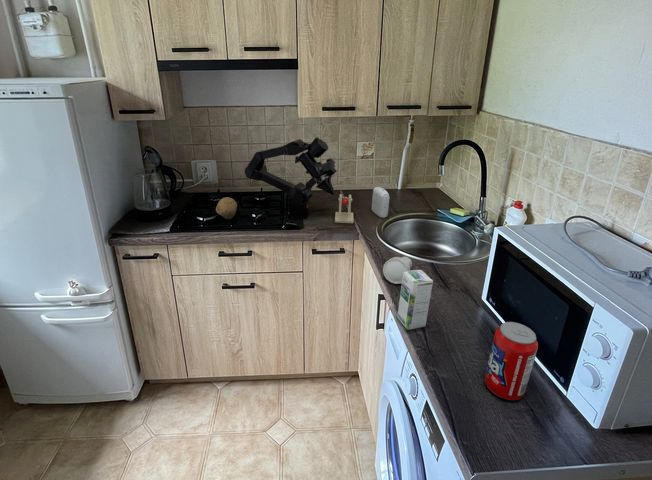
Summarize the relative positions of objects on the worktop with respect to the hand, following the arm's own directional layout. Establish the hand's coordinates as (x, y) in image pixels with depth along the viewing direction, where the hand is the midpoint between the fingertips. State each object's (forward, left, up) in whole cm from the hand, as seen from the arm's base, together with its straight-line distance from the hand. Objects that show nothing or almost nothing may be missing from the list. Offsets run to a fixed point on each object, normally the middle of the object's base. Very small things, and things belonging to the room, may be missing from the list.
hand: (333, 194), depth 159 cm
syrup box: (+23, -63, -14) cm, 69 cm away
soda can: (+40, -84, -14) cm, 94 cm away
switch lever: (+5, +1, -5) cm, 7 cm away
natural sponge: (-46, -1, -14) cm, 48 cm away
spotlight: (+23, -41, -14) cm, 49 cm away
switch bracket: (+5, +6, -14) cm, 16 cm away
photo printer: (+21, +14, -14) cm, 29 cm away
